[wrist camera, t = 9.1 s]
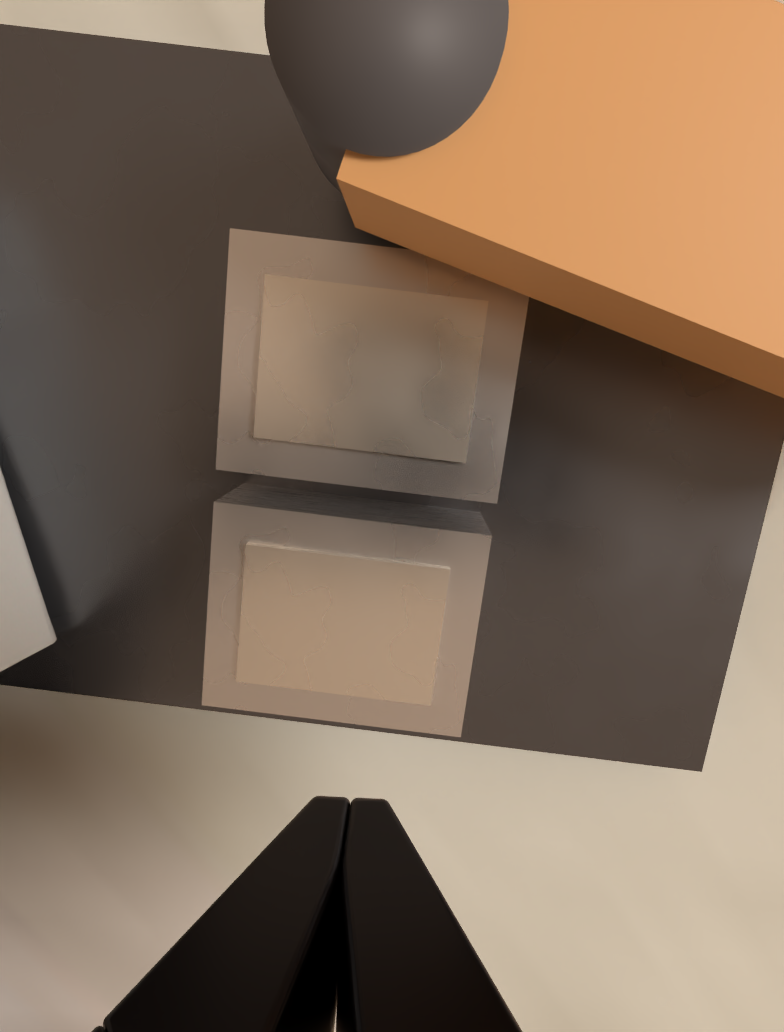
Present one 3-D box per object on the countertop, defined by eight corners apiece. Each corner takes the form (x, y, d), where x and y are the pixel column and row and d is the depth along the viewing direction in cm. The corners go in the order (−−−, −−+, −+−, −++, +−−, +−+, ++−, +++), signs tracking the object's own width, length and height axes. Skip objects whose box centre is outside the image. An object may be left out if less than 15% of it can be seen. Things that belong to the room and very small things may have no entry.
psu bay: (683, 746, 19) (755, 844, 15) (2, 662, 19) (-106, 736, 15) (827, 144, 15) (969, 63, 11) (-6, 46, 15) (-149, -67, 11)
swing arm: (274, 195, 12) (224, 129, 9) (347, -42, 11) (321, -207, 8) (1025, 494, 13) (1228, 533, 9) (1148, 293, 12) (1413, 262, 9)
